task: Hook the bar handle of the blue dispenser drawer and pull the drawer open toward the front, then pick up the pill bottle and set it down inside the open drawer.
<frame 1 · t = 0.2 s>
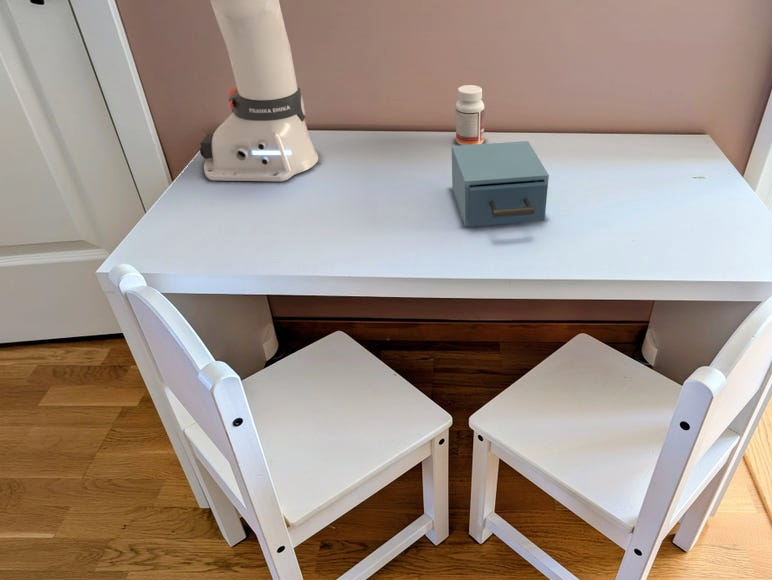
cabinet: (496, 204, 114), on the table
pill bottle: (469, 142, 135), on the table
drawer: (502, 193, 108), point 4 cm above the table, slide at 0.5 cm
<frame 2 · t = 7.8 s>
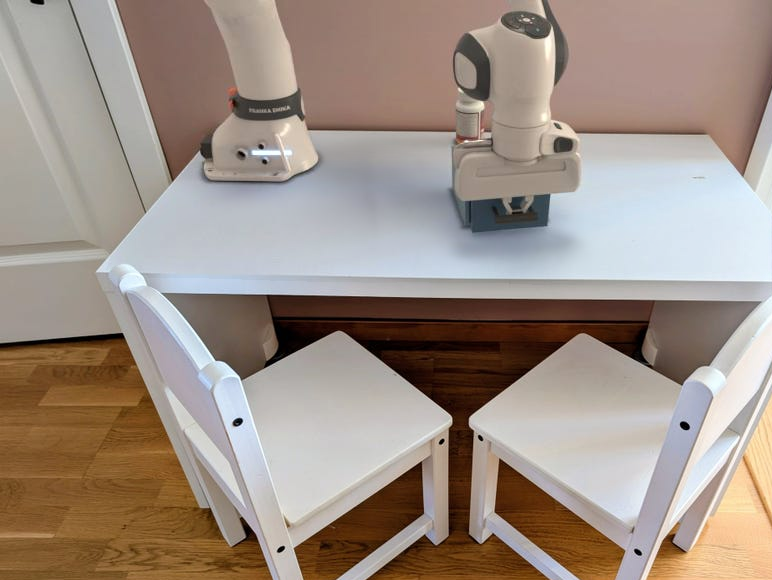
hand: (515, 218, 102), 4 cm above the table, tool pointing down, fingers closed, pressing on drawer
drawer: (505, 199, 106), point 4 cm above the table, slide at 2.6 cm, touching gripper
everything else where it was.
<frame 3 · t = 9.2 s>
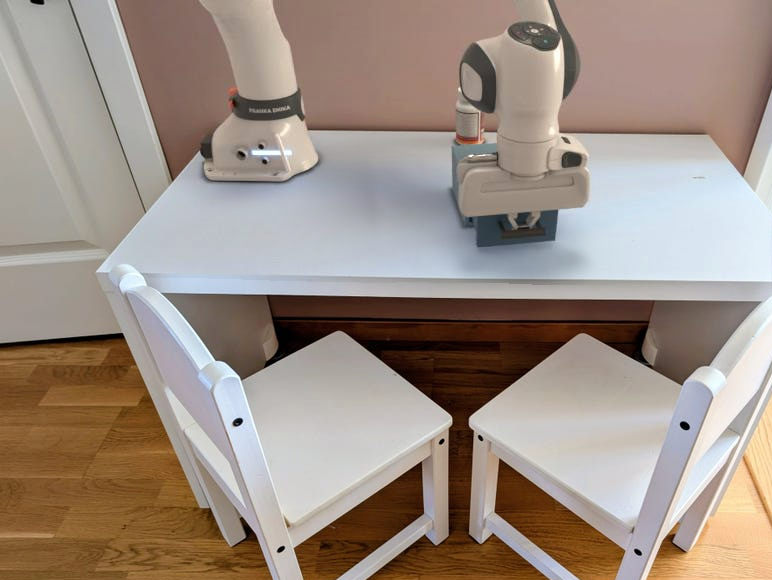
hand: (521, 234, 98), 4 cm above the table, tool pointing down, fingers closed, pressing on drawer
drawer: (511, 212, 103), point 4 cm above the table, slide at 7.4 cm, touching gripper
everything else where it was.
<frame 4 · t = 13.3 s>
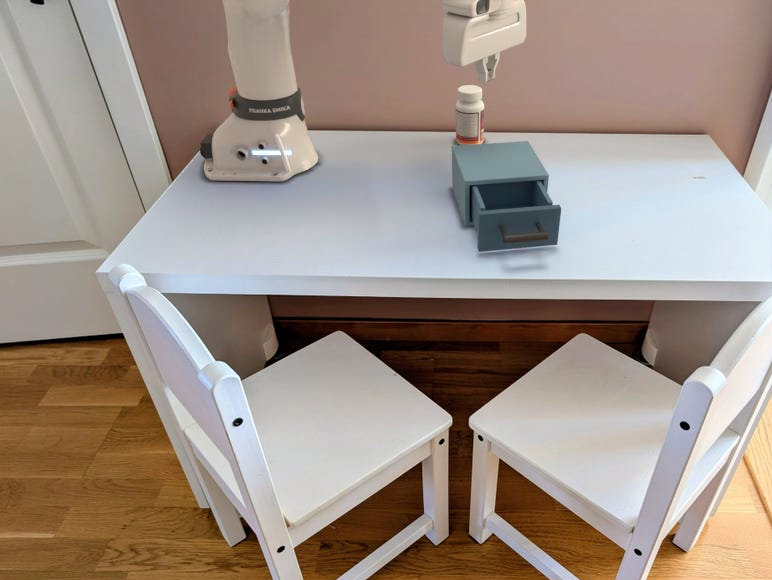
hand: (486, 80, 110), 18 cm above the table, tool pointing down, fingers closed
drawer: (513, 216, 102), point 4 cm above the table, slide at 8.7 cm
everything else where it was.
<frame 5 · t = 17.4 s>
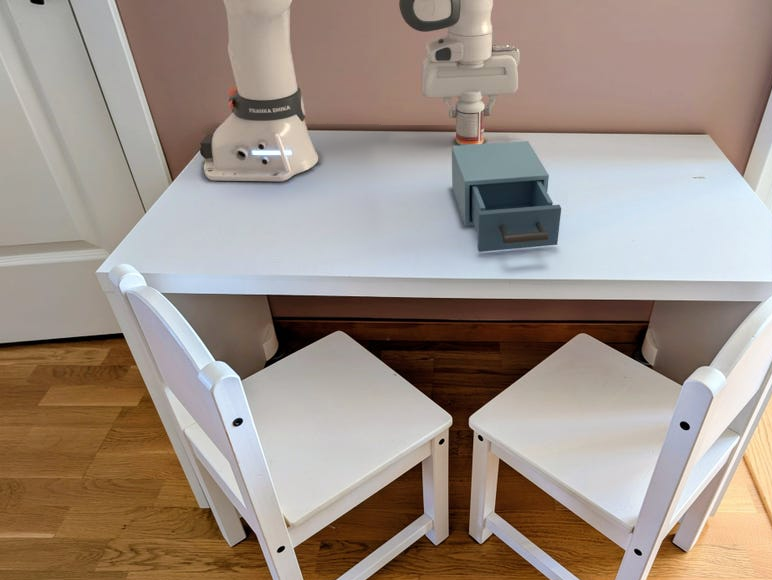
hand: (469, 116, 131), 6 cm above the table, tool pointing down, fingers closed on pill bottle, 6 cm apart
pill bottle: (469, 142, 135), on the table, touching gripper
everything else where it was.
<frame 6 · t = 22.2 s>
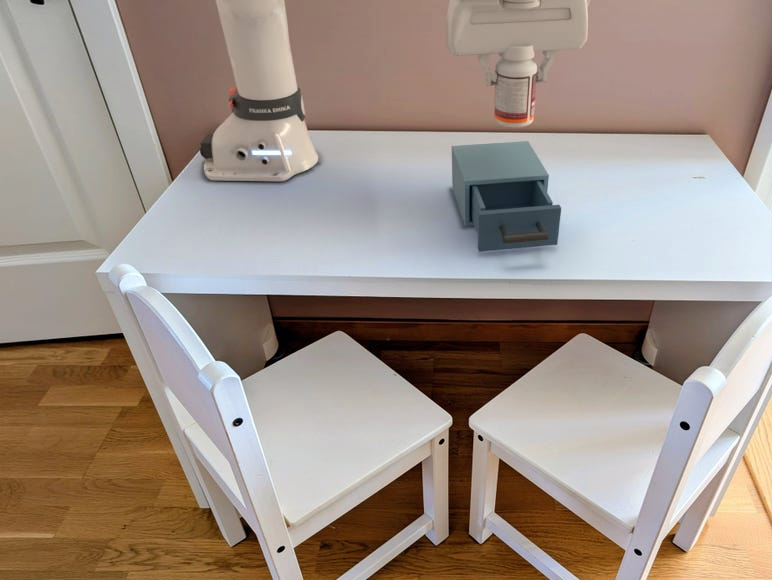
hand: (515, 83, 91), 24 cm above the table, tool pointing down, fingers closed on pill bottle, 6 cm apart
pill bottle: (513, 122, 95), point 19 cm above the table, touching gripper
everything else where it was.
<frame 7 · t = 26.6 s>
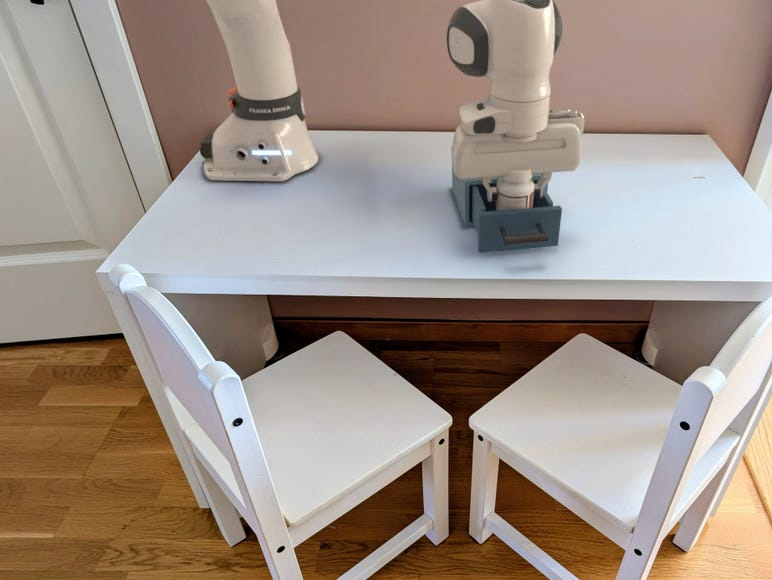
hand: (514, 198, 100), 8 cm above the table, tool pointing down, fingers closed on pill bottle, 6 cm apart
pill bottle: (513, 229, 104), point 2 cm above the table, touching drawer, gripper
drawer: (513, 217, 102), point 4 cm above the table, slide at 9.1 cm, touching pill bottle
when the fingers open (8 cm above the table, at t = 26.8 s): pill bottle stays where it is, resting on drawer.
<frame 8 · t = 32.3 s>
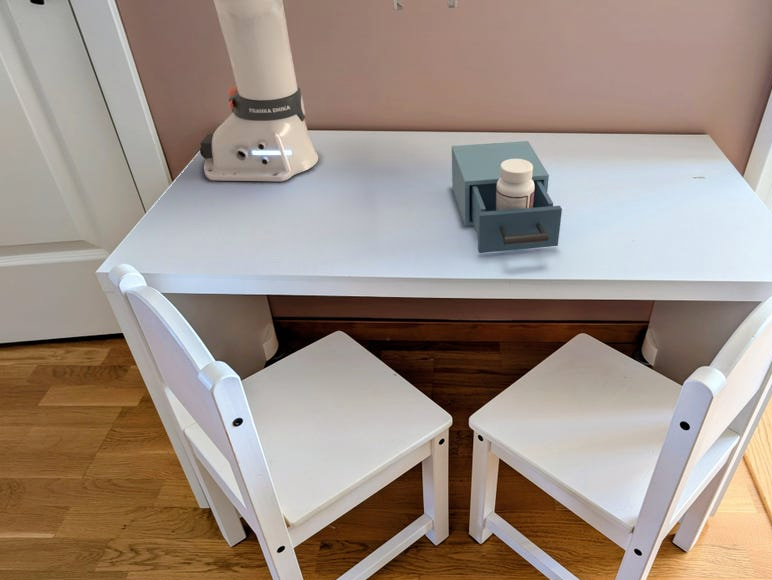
hand: (425, 8, 105), 29 cm above the table, tool pointing down, fingers open, 8 cm apart
pill bottle: (513, 229, 104), point 2 cm above the table, touching drawer
everything else where it was.
at the end: drawer slide at 9.1 cm; pill bottle inside the target area in the drawer (0.2 cm from its centre), point 1.8 cm above the cabinet's base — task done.
